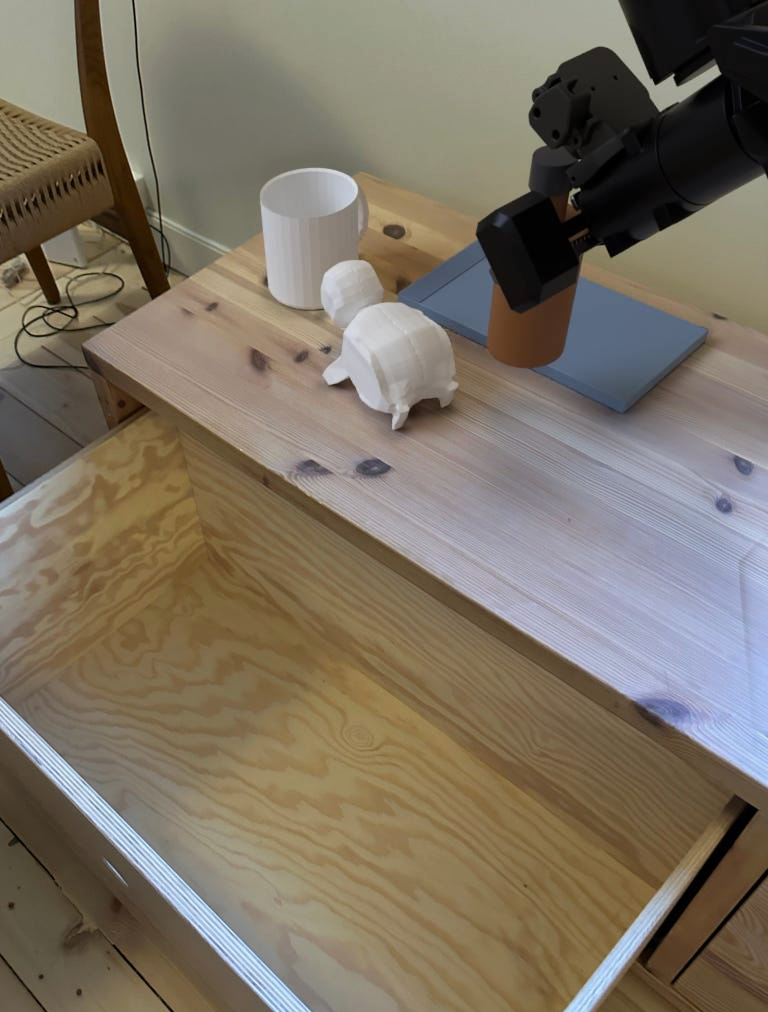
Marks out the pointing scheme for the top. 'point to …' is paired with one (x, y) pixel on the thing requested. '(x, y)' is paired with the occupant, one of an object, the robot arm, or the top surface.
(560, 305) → the brown bottle
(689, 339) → the blue slab
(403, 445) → the top surface
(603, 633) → the top surface
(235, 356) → the top surface
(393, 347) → the white turtle figurine
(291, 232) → the mug
